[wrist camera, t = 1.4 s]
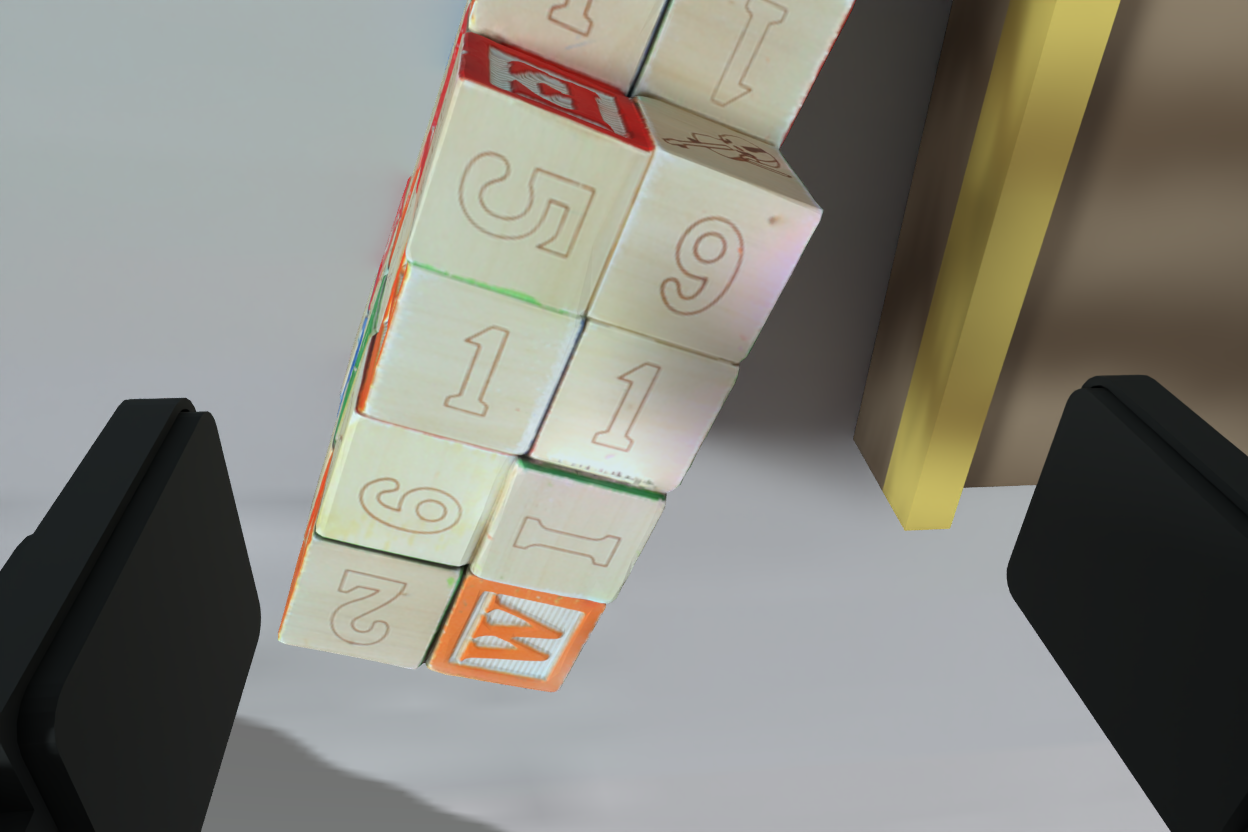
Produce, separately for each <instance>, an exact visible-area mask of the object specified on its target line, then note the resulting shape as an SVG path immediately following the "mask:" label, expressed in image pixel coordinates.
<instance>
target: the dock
mask: <svg viewBox="0 0 1248 832" xmlns="http://www.w3.org/2000/svg"><path fill="white" fill-rule="evenodd" d="M1102 375H1148V376H1149V377H1151V378H1153V379H1155V380H1156V381H1157V382H1159V383H1160V384H1161V385H1162V386H1163V387H1165V388H1166V389H1167V390H1168V391H1169V392H1171V393H1172V394H1173V395H1174V396H1175V397H1177V398H1178V399H1179V400H1180V401H1182V402H1183V403H1184V404H1185V405H1186V406H1188V407H1189V408H1190V409H1191V410H1192V411H1194V412H1195V413H1196V414H1197V415H1198V416H1200V417H1201V418H1202V419H1203V420H1205V421H1206V422H1207V423H1208V424H1209V425H1211V426H1212V427H1213V428H1214V429H1215V430H1217V431H1218V432H1219V433H1220V434H1221V435H1223V436H1224V437H1225V438H1226V439H1228V440H1229V441H1230V442H1231V443H1232V444H1234V445H1235V446H1236V447H1237V448H1238V449H1240V450H1241V451H1242V452H1243V453H1245V454H1246V455H1247V456H1248V0H953V2H952V7H951V11H950V16H949V20H948V24H947V29H946V33H945V38H944V42H943V46H942V51H941V55H940V59H939V64H938V68H937V73H936V77H935V81H934V86H933V90H932V95H931V99H930V103H929V108H928V112H927V117H926V121H925V125H924V130H923V134H922V139H921V143H920V147H919V152H918V156H917V161H916V165H915V169H914V174H913V178H912V183H911V187H910V191H909V196H908V200H907V204H906V209H905V213H904V218H903V222H902V226H901V231H900V235H899V240H898V244H897V248H896V253H895V257H894V262H893V266H892V270H891V275H890V279H889V284H888V288H887V292H886V297H885V301H884V306H883V310H882V314H881V319H880V323H879V328H878V332H877V336H876V341H875V345H874V350H873V354H872V358H871V363H870V367H869V371H868V376H867V380H866V385H865V389H864V393H863V398H862V402H861V407H860V411H859V415H858V420H857V424H856V429H855V433H854V437H853V440H854V441H855V443H856V445H857V447H858V448H859V450H860V452H861V454H862V456H863V457H864V459H865V461H866V463H867V464H868V466H869V468H870V470H871V472H872V473H873V475H874V477H875V479H876V480H877V482H878V484H879V486H880V487H881V489H882V491H883V493H884V495H885V496H886V498H887V500H888V502H889V503H890V505H891V507H892V509H893V511H894V512H895V514H896V516H897V518H898V519H899V521H900V523H901V525H902V527H903V528H904V530H905V531H907V530H929V529H950V527H951V524H952V521H953V518H954V515H955V511H956V508H957V505H958V502H959V499H960V496H961V493H962V490H963V488H969V487H994V486H1019V485H1037V483H1038V480H1039V477H1040V474H1041V472H1042V469H1043V466H1044V463H1045V461H1046V458H1047V455H1048V452H1049V449H1050V447H1051V444H1052V441H1053V438H1054V436H1055V433H1056V430H1057V427H1058V425H1059V422H1060V419H1061V416H1062V413H1063V411H1064V408H1065V405H1066V402H1067V400H1068V398H1069V396H1070V395H1071V394H1072V393H1073V392H1074V391H1075V390H1078V389H1081V387H1082V385H1083V384H1084V383H1085V382H1086V381H1087V380H1088V379H1089V378H1092V377H1094V376H1102Z"/></svg>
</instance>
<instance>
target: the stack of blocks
mask: <svg viewBox="0 0 1248 832" xmlns="http://www.w3.org/2000/svg"><path fill="white" fill-rule="evenodd" d="M855 2H856V0H467V3H466V6H465V9H464V12H463V16H462V19H461V22H460V25H459V28H458V31H457V34H456V37H455V40H454V43H453V46H452V49H451V52H450V56H449V59H448V62H447V65H446V69H445V72H444V76H443V79H442V82H441V86H440V89H439V92H438V95H437V98H436V102H435V105H434V108H433V111H432V114H431V117H430V120H429V124H428V127H427V130H426V133H425V136H424V139H423V142H422V146H421V149H420V152H419V155H418V158H417V161H416V164H415V168H414V171H413V175H412V176H411V177H410V178H409V179H408V182H407V185H406V188H405V191H404V194H403V197H402V200H401V203H400V206H399V209H398V212H397V216H396V219H395V222H394V225H393V228H392V231H391V234H390V237H389V240H388V243H387V246H386V249H385V252H384V256H383V259H382V262H381V265H380V267H379V270H378V272H377V274H376V276H375V279H374V283H373V286H372V289H371V292H370V295H369V298H368V301H367V304H366V307H365V311H364V314H363V317H362V320H361V323H360V326H359V329H358V332H357V335H356V338H355V341H354V344H353V348H352V352H351V356H350V360H349V364H348V367H347V371H346V374H345V378H344V381H343V385H342V388H341V392H340V399H341V403H340V407H339V411H338V415H337V420H336V424H335V427H334V430H333V434H332V437H331V440H330V444H329V447H328V450H327V454H326V457H325V460H324V464H323V467H322V470H321V473H320V477H319V481H318V484H317V488H316V491H315V494H314V498H313V501H312V505H311V509H310V514H309V518H308V522H307V526H306V530H305V534H304V541H303V544H302V547H301V551H300V554H299V557H298V561H297V564H296V568H295V572H294V576H293V579H292V583H291V587H290V591H289V595H288V598H287V602H286V606H285V610H284V613H283V617H282V621H281V625H280V628H279V632H278V640H279V641H280V642H282V643H284V644H288V645H293V646H299V647H304V648H310V649H315V650H321V651H326V652H331V653H336V654H342V655H347V656H352V657H357V658H362V659H367V660H372V661H377V662H382V663H386V664H390V665H395V666H399V667H404V668H408V669H417V668H418V667H419V666H420V665H421V664H423V663H426V666H427V668H429V669H430V670H432V671H436V672H439V673H442V674H446V675H451V676H458V677H465V678H470V679H475V680H481V681H487V682H493V683H498V684H505V685H511V686H517V687H523V688H529V689H535V690H541V691H547V692H555V691H559V689H560V688H561V686H562V684H563V682H564V681H565V679H566V677H567V676H568V674H569V672H570V670H571V668H572V666H573V665H574V663H575V661H576V659H577V657H578V656H579V654H580V652H581V650H582V648H583V647H584V645H585V643H586V642H587V640H588V638H589V637H590V635H591V633H592V631H593V629H594V627H595V625H596V624H597V622H598V620H599V618H600V617H601V615H602V613H603V611H604V610H605V607H606V603H611V602H612V601H614V600H615V599H616V598H617V596H618V594H619V592H620V590H621V588H622V586H623V585H624V583H625V581H626V579H627V578H628V576H629V574H630V572H631V570H632V568H633V566H634V564H635V562H636V561H637V559H638V557H639V555H640V553H641V552H642V550H643V548H644V546H645V544H646V543H647V541H648V539H649V537H650V535H651V533H652V531H653V529H654V528H655V526H656V524H657V522H658V520H659V518H660V516H661V514H662V512H663V510H664V508H665V505H666V495H667V492H669V491H672V490H674V489H675V488H677V487H678V486H679V485H681V483H682V480H683V478H684V476H685V475H686V473H687V471H688V470H689V468H690V467H691V465H692V463H693V460H694V458H695V456H696V454H697V452H698V450H699V449H700V447H701V445H702V443H703V441H704V440H705V438H706V436H707V435H708V432H709V430H710V429H711V427H712V425H713V423H714V421H715V419H716V417H717V415H718V413H719V412H720V410H721V408H722V406H723V404H724V403H725V401H726V399H727V397H728V395H729V393H730V392H731V390H732V388H733V386H734V384H735V382H736V379H737V377H738V372H739V365H740V362H741V361H742V360H744V359H745V358H746V357H747V355H748V354H749V352H750V351H751V349H752V347H753V345H754V343H755V341H756V340H757V338H758V336H759V334H760V332H761V330H762V328H763V327H764V325H765V323H766V321H767V319H768V317H769V315H770V314H771V312H772V310H773V308H774V306H775V304H776V302H777V300H778V299H779V297H780V295H781V293H782V291H783V290H784V288H785V286H786V284H787V282H788V280H789V279H790V277H791V275H792V273H793V271H794V269H795V268H796V266H797V264H798V262H799V260H800V258H801V256H802V254H803V252H804V250H805V248H806V246H807V245H808V243H809V241H810V239H811V237H812V235H813V233H814V231H815V230H816V228H817V226H818V225H819V223H820V221H821V219H822V215H823V209H822V208H821V207H820V206H819V205H818V204H817V203H816V202H815V200H814V199H813V197H812V196H811V194H810V193H809V191H808V190H807V188H806V187H805V186H804V184H803V183H802V182H801V180H800V179H799V178H798V176H797V175H796V174H795V172H794V171H793V170H792V168H791V167H790V165H789V164H788V163H787V161H786V160H785V158H784V157H783V155H782V154H781V152H780V151H779V149H780V148H781V146H782V144H783V142H784V141H785V139H786V137H787V135H788V133H789V131H790V129H791V127H792V125H793V123H794V121H795V119H796V117H797V115H798V113H799V111H800V110H801V108H802V106H803V104H804V102H805V100H806V98H807V96H808V94H809V92H810V90H811V88H812V86H813V84H814V82H815V80H816V78H817V77H818V75H819V73H820V71H821V69H822V67H823V65H824V63H825V61H826V59H827V57H828V55H829V53H830V51H831V49H832V48H833V46H834V44H835V42H836V40H837V38H838V36H839V34H840V32H841V30H842V28H843V27H844V25H845V23H846V21H847V19H848V17H849V15H850V13H851V11H852V9H853V6H854V4H855Z"/></svg>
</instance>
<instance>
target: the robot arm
mask: <svg viewBox="0 0 1248 832" xmlns="http://www.w3.org/2000/svg"><path fill="white" fill-rule="evenodd" d="M1007 583H1008V587H1009V591H1010V593H1011V595H1012V597H1013V599H1014V600H1015V602H1016V603H1017V605H1018V606H1019V608H1020V609H1021V611H1022V612H1023V614H1024V615H1025V617H1026V618H1027V620H1028V621H1029V623H1030V624H1031V625H1032V627H1033V628H1034V630H1035V631H1036V633H1037V634H1038V636H1039V637H1040V639H1041V640H1042V642H1043V643H1044V645H1045V646H1046V648H1047V649H1048V651H1049V652H1050V654H1051V655H1052V657H1053V658H1054V659H1055V661H1056V662H1057V664H1058V665H1059V667H1060V668H1061V670H1062V671H1063V673H1064V674H1065V676H1066V677H1067V679H1068V680H1069V682H1070V683H1071V685H1072V686H1073V688H1074V689H1075V691H1076V692H1077V693H1078V695H1079V696H1080V698H1081V699H1082V701H1083V702H1084V704H1085V705H1086V707H1087V708H1088V710H1089V711H1090V713H1091V714H1092V716H1093V717H1094V719H1095V720H1096V722H1097V723H1098V725H1099V726H1100V728H1101V729H1102V730H1103V732H1104V733H1105V735H1106V736H1107V738H1108V739H1109V741H1110V742H1111V744H1112V745H1113V747H1114V748H1115V750H1116V751H1117V753H1118V754H1119V756H1120V757H1121V759H1122V760H1123V762H1124V763H1125V764H1126V766H1127V767H1128V769H1129V770H1130V772H1131V773H1132V775H1133V776H1134V778H1135V779H1136V781H1137V782H1138V784H1139V785H1140V787H1141V788H1142V790H1143V791H1144V793H1145V794H1146V796H1147V797H1148V799H1149V800H1150V801H1151V803H1152V804H1153V806H1154V807H1155V809H1156V810H1157V812H1158V813H1159V815H1160V816H1161V818H1162V819H1163V821H1164V822H1165V824H1166V825H1167V827H1168V828H1169V830H1170V831H1171V832H1248V456H1247V455H1246V454H1245V453H1243V452H1242V451H1241V450H1240V449H1238V448H1237V447H1236V446H1235V445H1234V444H1232V443H1231V442H1230V441H1229V440H1228V439H1226V438H1225V437H1224V436H1223V435H1221V434H1220V433H1219V432H1218V431H1217V430H1215V429H1214V428H1213V427H1212V426H1211V425H1209V424H1208V423H1207V422H1206V421H1205V420H1203V419H1202V418H1201V417H1200V416H1198V415H1197V414H1196V413H1195V412H1194V411H1192V410H1191V409H1190V408H1189V407H1188V406H1186V405H1185V404H1184V403H1183V402H1182V401H1180V400H1179V399H1178V398H1177V397H1175V396H1174V395H1173V394H1172V393H1171V392H1169V391H1168V390H1167V389H1166V388H1165V387H1163V386H1162V385H1161V384H1160V383H1159V382H1157V381H1156V380H1155V379H1153V378H1151V377H1149V376H1148V375H1102V376H1094V377H1092V378H1089V379H1088V380H1087V381H1086V382H1085V383H1084V384H1083V385H1082V387H1081V389H1078V390H1075V391H1074V392H1073V393H1072V394H1071V395H1070V396H1069V398H1068V400H1067V402H1066V405H1065V408H1064V411H1063V413H1062V416H1061V419H1060V422H1059V425H1058V427H1057V430H1056V433H1055V436H1054V438H1053V441H1052V444H1051V447H1050V449H1049V452H1048V455H1047V458H1046V461H1045V463H1044V466H1043V469H1042V472H1041V474H1040V477H1039V480H1038V483H1037V485H1036V488H1035V491H1034V494H1033V497H1032V499H1031V502H1030V505H1029V508H1028V510H1027V513H1026V516H1025V519H1024V522H1023V524H1022V527H1021V530H1020V533H1019V535H1018V538H1017V541H1016V544H1015V546H1014V549H1013V552H1012V555H1011V558H1010V560H1009V563H1008V567H1007ZM260 626H261V611H260V603H259V599H258V595H257V591H256V586H255V582H254V578H253V574H252V570H251V566H250V562H249V558H248V554H247V549H246V545H245V541H244V537H243V533H242V529H241V525H240V521H239V516H238V512H237V508H236V504H235V500H234V496H233V492H232V488H231V484H230V479H229V475H228V471H227V467H226V463H225V459H224V455H223V451H222V446H221V442H220V438H219V434H218V430H217V426H216V423H215V420H214V418H213V416H212V414H211V413H209V412H208V411H207V412H196V410H195V407H194V406H193V404H192V403H191V401H190V400H188V399H187V398H161V399H129V400H124V401H123V402H122V403H121V404H120V405H119V406H118V408H117V409H116V411H115V412H114V414H113V415H112V417H111V418H110V420H109V421H108V423H107V424H106V426H105V427H104V429H103V430H102V432H101V433H100V435H99V436H98V438H97V439H96V441H95V442H94V444H93V445H92V447H91V448H90V450H89V451H88V453H87V454H86V456H85V457H84V459H83V460H82V462H81V463H80V465H79V466H78V468H77V469H76V471H75V472H74V474H73V475H72V477H71V478H70V480H69V481H68V483H67V484H66V486H65V487H64V489H63V490H62V492H61V493H60V495H59V496H58V498H57V499H56V501H55V502H54V504H53V505H52V507H51V508H50V510H49V511H48V512H47V514H46V515H45V517H44V518H43V520H42V521H41V523H40V524H39V526H38V527H37V529H36V530H35V532H34V533H33V534H32V535H29V536H27V537H26V538H25V539H24V540H23V541H22V542H21V543H20V544H19V545H18V546H17V548H16V549H15V550H14V552H13V553H12V555H11V556H10V558H9V559H8V561H7V562H6V564H5V565H4V566H3V568H2V569H1V571H0V832H201V829H202V826H203V822H204V819H205V816H206V812H207V809H208V806H209V802H210V799H211V796H212V792H213V789H214V785H215V782H216V779H217V776H218V772H219V769H220V766H221V762H222V759H223V755H224V752H225V749H226V746H227V742H228V739H229V736H230V732H231V729H232V726H233V722H234V719H235V716H236V712H237V709H238V706H239V702H240V699H241V696H242V692H243V689H244V686H245V682H246V679H247V676H248V672H249V669H250V666H251V662H252V659H253V656H254V652H255V649H256V646H257V642H258V639H259V634H260Z"/></svg>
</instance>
